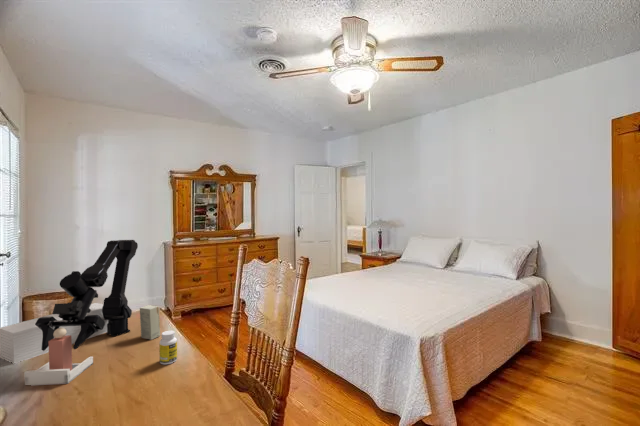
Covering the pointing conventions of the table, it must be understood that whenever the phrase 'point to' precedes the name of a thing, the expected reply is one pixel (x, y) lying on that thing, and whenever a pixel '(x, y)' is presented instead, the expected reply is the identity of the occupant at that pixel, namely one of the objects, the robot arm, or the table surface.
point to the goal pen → (56, 374)
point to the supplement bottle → (168, 347)
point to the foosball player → (60, 350)
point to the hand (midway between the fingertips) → (58, 349)
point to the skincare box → (149, 322)
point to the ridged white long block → (36, 337)
